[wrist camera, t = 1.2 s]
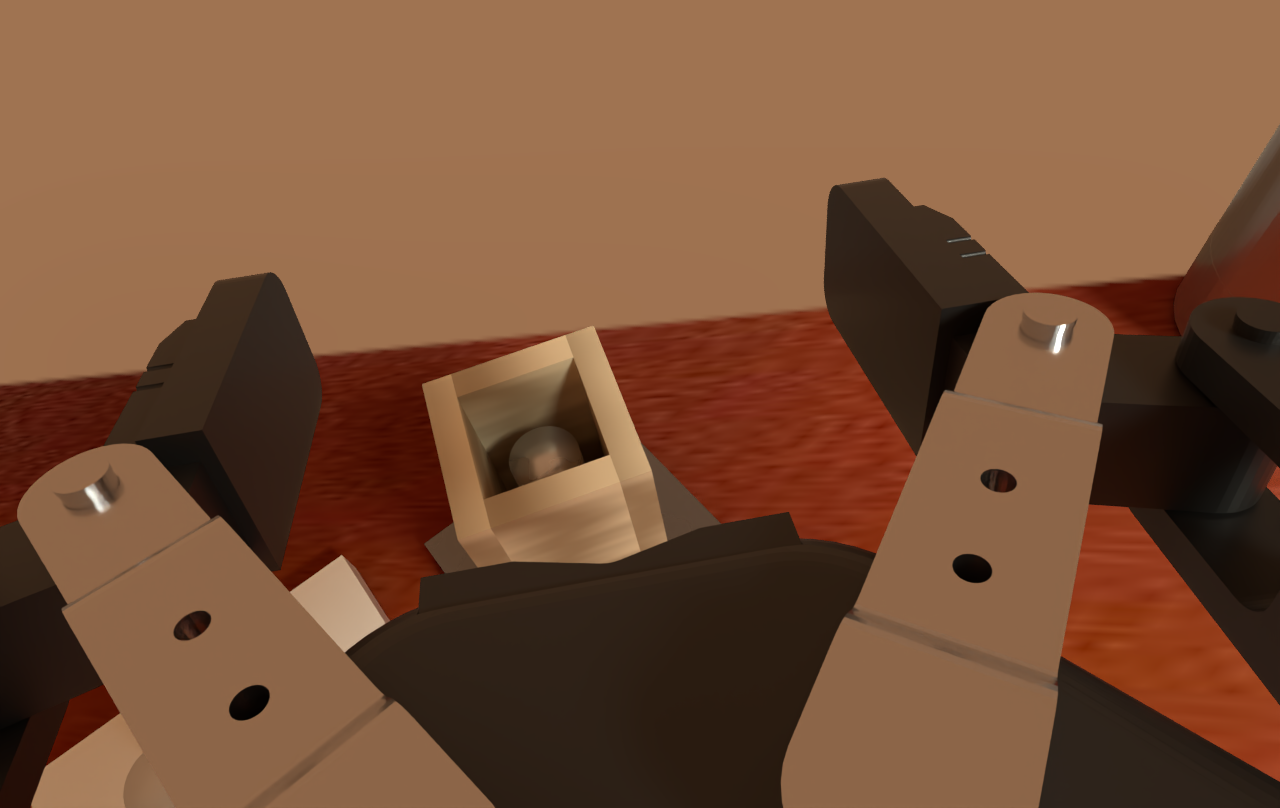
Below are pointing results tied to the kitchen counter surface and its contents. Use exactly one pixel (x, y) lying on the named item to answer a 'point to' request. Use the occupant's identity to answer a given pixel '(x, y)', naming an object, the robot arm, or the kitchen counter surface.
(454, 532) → the stand
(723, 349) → the kitchen counter surface
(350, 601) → the board
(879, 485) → the kitchen counter surface
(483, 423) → the sleeve
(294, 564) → the kitchen counter surface
